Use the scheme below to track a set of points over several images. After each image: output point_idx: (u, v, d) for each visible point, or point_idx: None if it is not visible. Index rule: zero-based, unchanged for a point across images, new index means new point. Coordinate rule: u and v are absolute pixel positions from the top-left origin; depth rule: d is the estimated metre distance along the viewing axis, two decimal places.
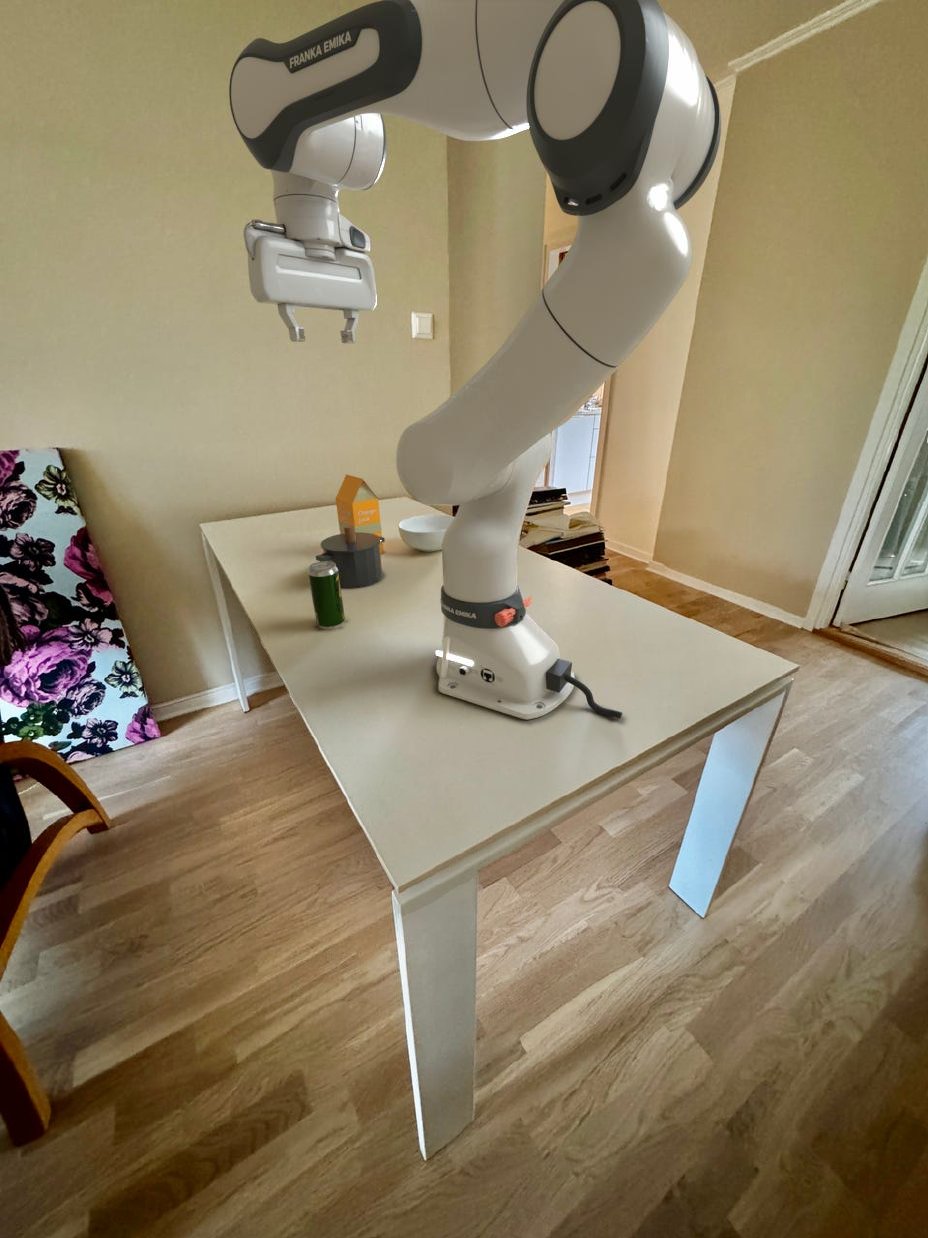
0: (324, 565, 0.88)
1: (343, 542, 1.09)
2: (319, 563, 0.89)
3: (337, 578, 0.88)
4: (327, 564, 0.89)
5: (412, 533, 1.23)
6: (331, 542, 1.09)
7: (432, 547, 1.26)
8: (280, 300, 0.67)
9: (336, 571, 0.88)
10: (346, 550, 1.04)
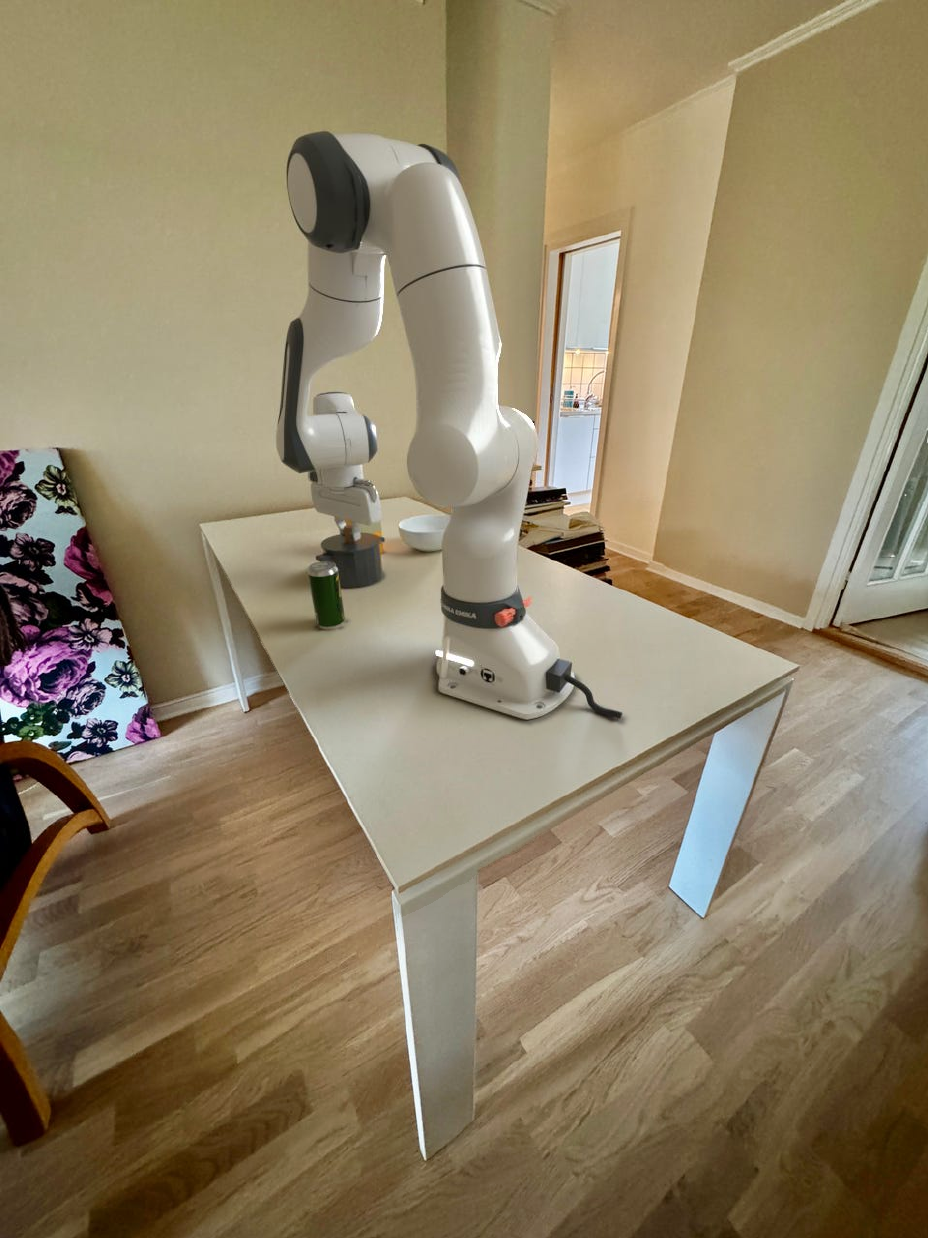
0: (324, 565, 0.88)
1: (343, 542, 1.09)
2: (319, 563, 0.89)
3: (337, 578, 0.88)
4: (327, 564, 0.89)
5: (412, 533, 1.23)
6: (331, 542, 1.09)
7: (432, 547, 1.26)
8: None
9: (336, 571, 0.88)
10: (346, 550, 1.04)
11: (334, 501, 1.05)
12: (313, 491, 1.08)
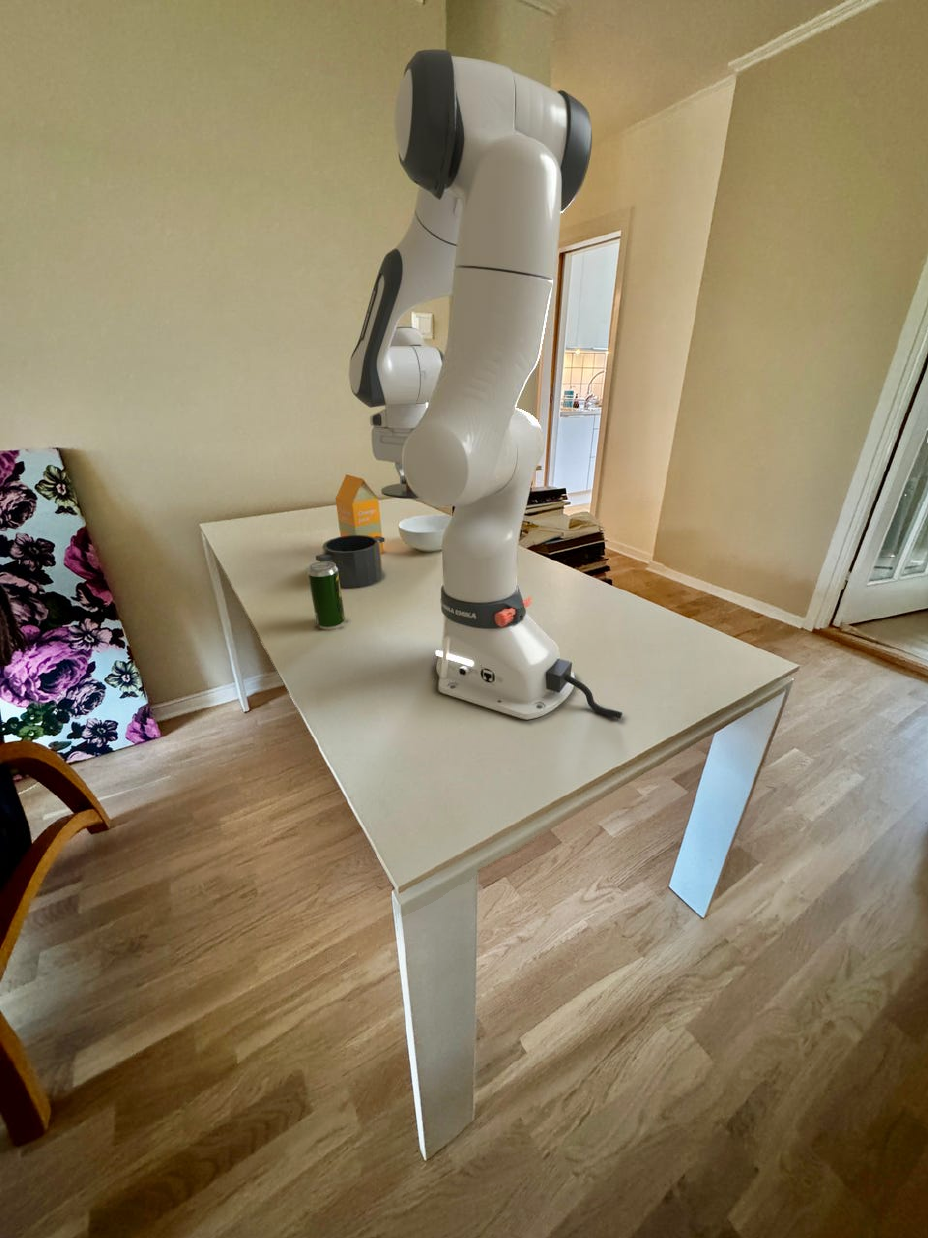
0: (324, 565, 0.88)
1: (404, 489, 1.07)
2: (319, 563, 0.89)
3: (337, 578, 0.88)
4: (327, 564, 0.89)
5: (412, 533, 1.23)
6: (392, 489, 1.07)
7: (432, 547, 1.26)
8: None
9: (336, 571, 0.88)
10: (410, 495, 1.02)
11: (397, 445, 1.03)
12: (374, 437, 1.06)
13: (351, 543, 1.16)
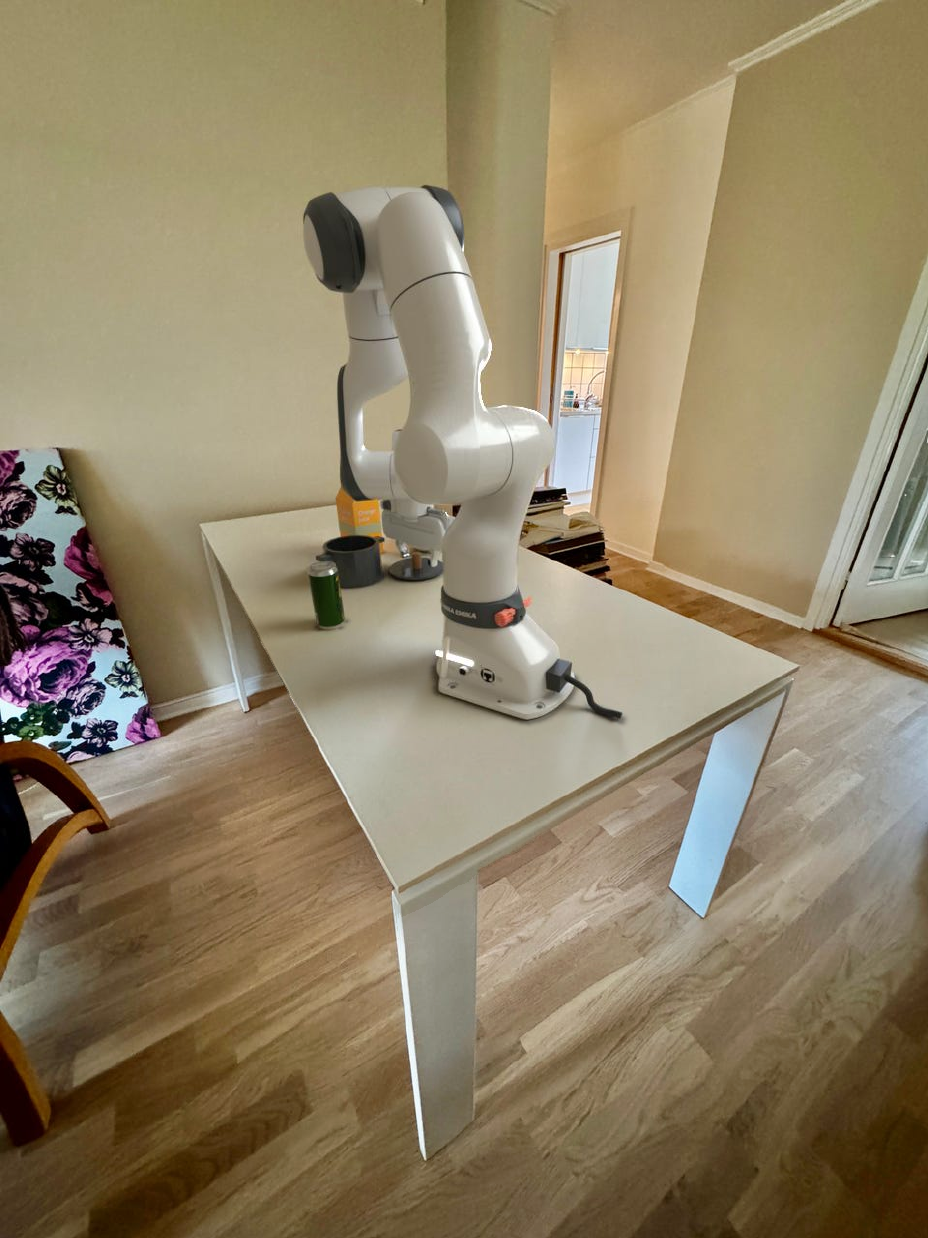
0: (324, 565, 0.88)
1: (410, 568, 1.16)
2: (319, 563, 0.89)
3: (337, 578, 0.88)
4: (327, 564, 0.89)
5: None
6: (399, 568, 1.16)
7: None
8: None
9: (336, 571, 0.88)
10: (416, 577, 1.11)
11: (405, 528, 1.12)
12: (384, 518, 1.15)
13: (351, 543, 1.16)
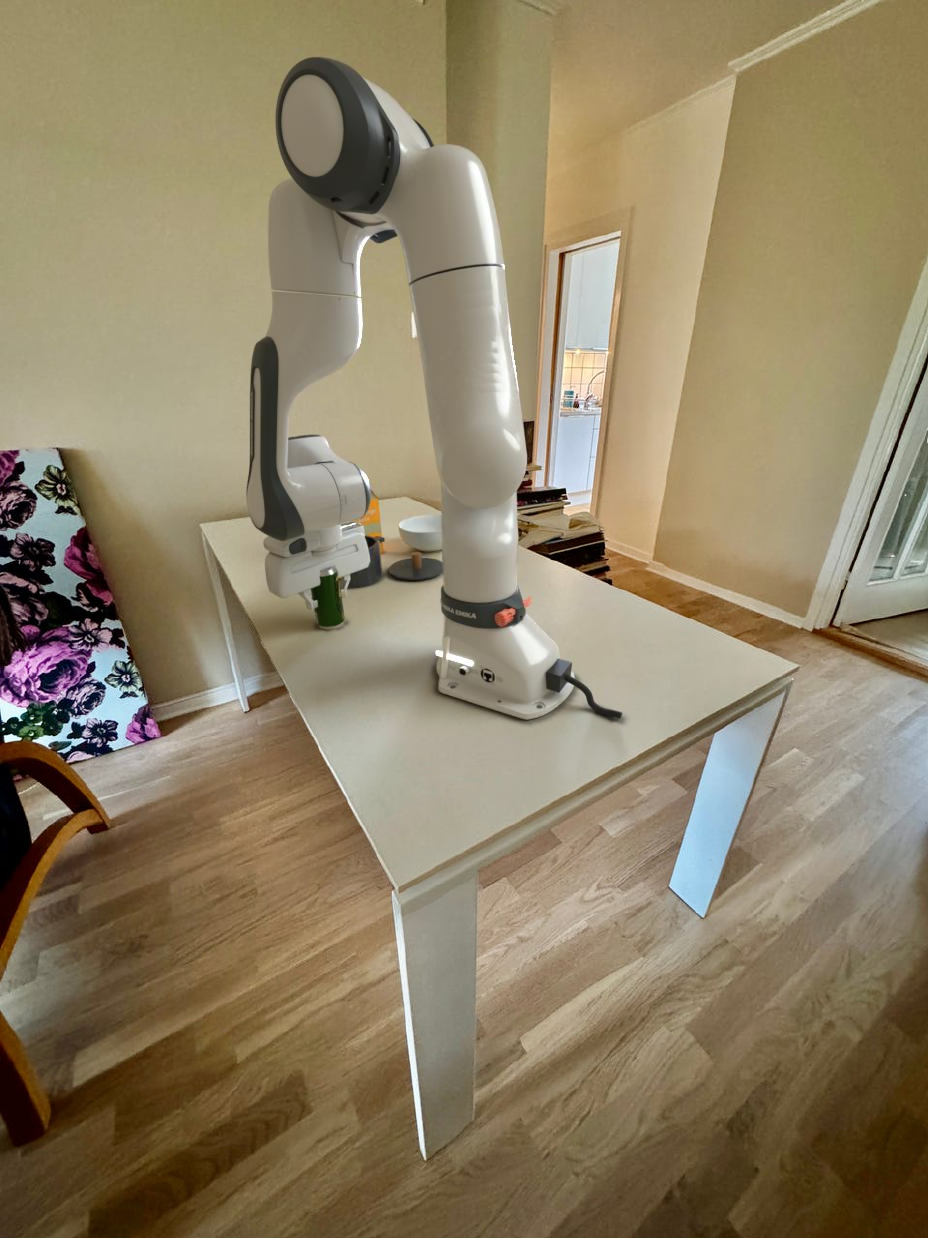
0: None
1: (410, 568, 1.16)
2: None
3: (337, 578, 0.88)
4: None
5: (412, 533, 1.23)
6: (399, 568, 1.16)
7: (432, 547, 1.26)
8: None
9: (336, 571, 0.88)
10: (416, 577, 1.11)
11: (319, 566, 0.85)
12: (285, 570, 0.80)
13: None
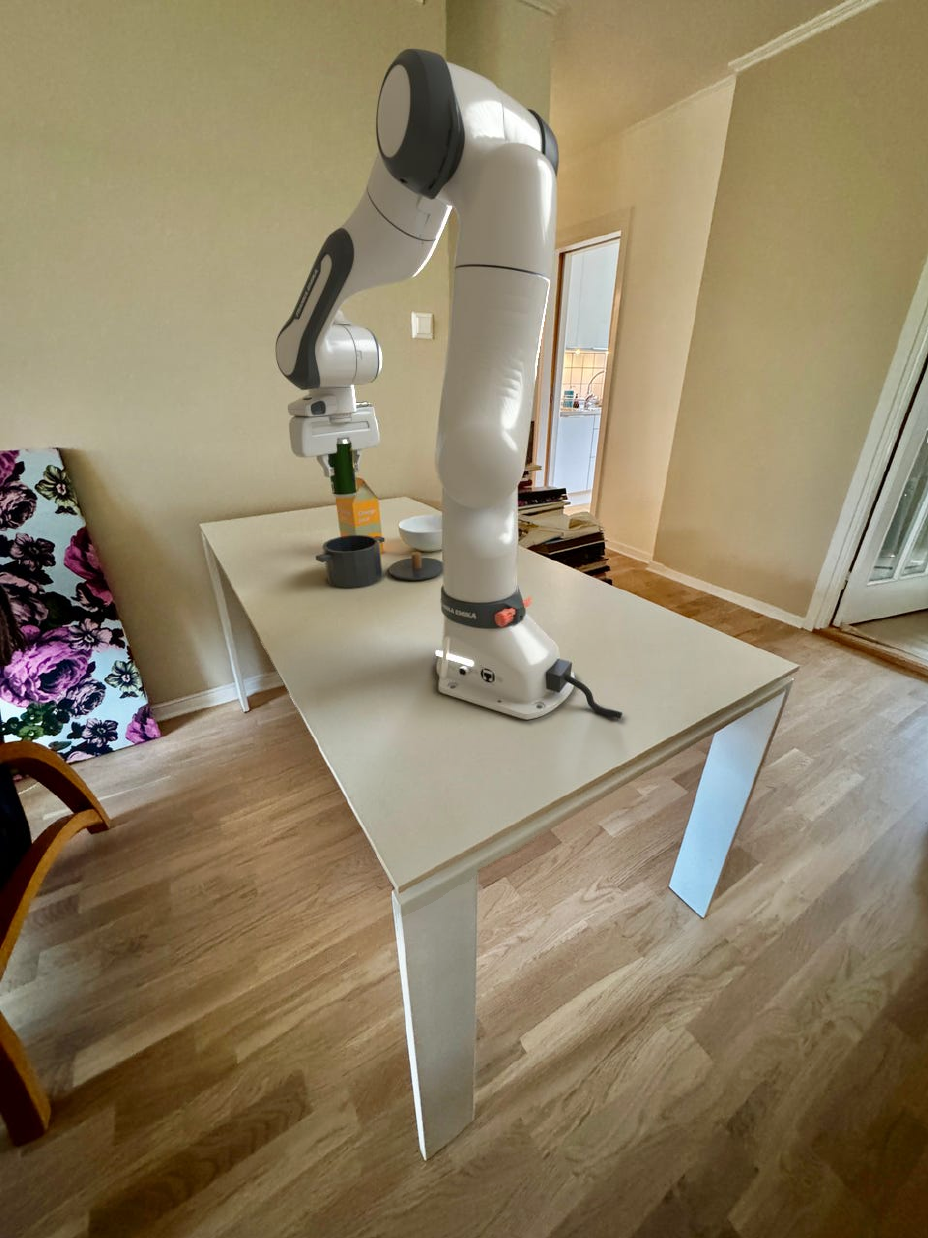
0: None
1: (410, 568, 1.16)
2: None
3: (351, 449, 1.00)
4: None
5: (412, 533, 1.23)
6: (399, 568, 1.16)
7: (432, 547, 1.26)
8: None
9: (350, 442, 1.00)
10: (416, 577, 1.11)
11: (335, 434, 0.97)
12: (307, 430, 0.91)
13: (351, 543, 1.16)
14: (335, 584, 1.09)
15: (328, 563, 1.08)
